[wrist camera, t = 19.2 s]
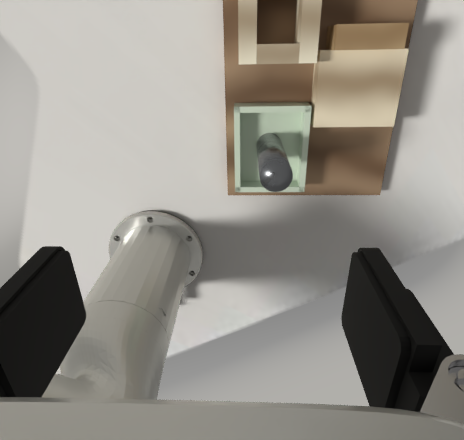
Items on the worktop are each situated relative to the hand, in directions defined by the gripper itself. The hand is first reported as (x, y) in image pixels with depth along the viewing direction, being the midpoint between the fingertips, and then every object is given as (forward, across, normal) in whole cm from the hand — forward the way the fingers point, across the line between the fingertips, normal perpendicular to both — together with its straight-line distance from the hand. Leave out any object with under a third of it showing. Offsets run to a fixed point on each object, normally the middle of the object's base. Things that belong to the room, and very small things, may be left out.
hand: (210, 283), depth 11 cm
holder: (+29, -4, -9) cm, 30 cm away
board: (+30, -8, -2) cm, 31 cm away
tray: (+29, -4, +3) cm, 29 cm away
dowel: (+28, -4, +3) cm, 29 cm away
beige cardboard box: (+29, -12, -3) cm, 31 cm away
